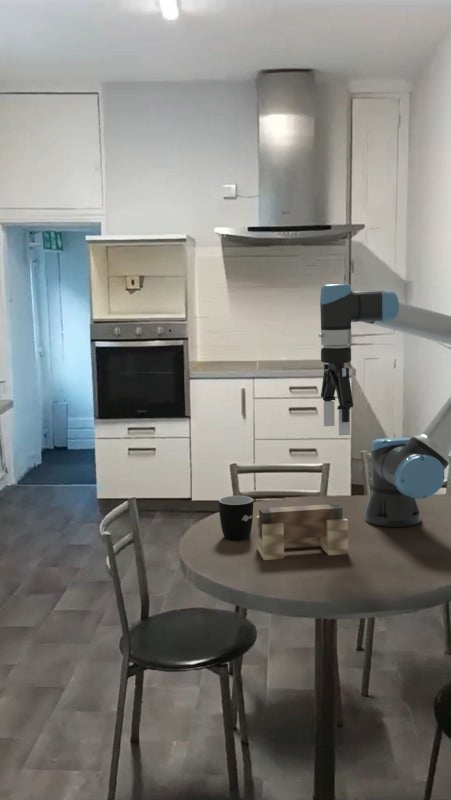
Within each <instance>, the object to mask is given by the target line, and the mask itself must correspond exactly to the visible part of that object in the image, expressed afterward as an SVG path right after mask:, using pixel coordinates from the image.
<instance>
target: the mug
mask: <svg viewBox="0 0 451 800" xmlns="http://www.w3.org/2000/svg"><path fill="white" fill-rule="evenodd" d="M218 508H219V509H218V510H219V519H220V526H221V532H222V535H223V537H224V539H226V540H228V541H233V542H239V541H240V542H241V541H245V540H247V539H249V537H250V535H251V533H252V529H253V528H252V526H253V519H254V499H253V498H252V497H251V496H245V495H228V496H224V497H221V498H220V499H218Z"/></svg>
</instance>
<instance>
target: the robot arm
mask: <svg viewBox="0 0 451 800" xmlns="http://www.w3.org/2000/svg"><path fill="white" fill-rule="evenodd" d="M320 288H321V289H320V299H319V306H320V311H319V312H320V333H319V334H318V337H319V338H320V345H321V346H322V347H321V348H320V361H321V362H322V363H323V375H322V376H323V377H322V384H321V391H320V392H321V393H320V398H322V400H323V427H335V424H336V423H335V421H336V420H335V416H336V415H335V401H336V397H335V394H336V396H337V401H338V403H339V405H337V408H336V409H337V410H338V436H340V437H341V436H350V435H351V408H353V407H354V401H353V394H352V387H351V382H350V381H351V380H350V369H349V367H345V363H346V364H347V363H350V362H351V361H352V348H351V347H350V346H351V345H352V323H358V322H359V323H360V322H362V323H366V324H370V325H374V326H378V327H381V328H386V329H389V330H394V331H397V332H400V333H405V334H408V335H412V336H416V337H420V338H423V339H426V340H431V341H434V342H439V343H442V344H447V345H451V315H448V314H445V313H442V312H441V313H440V312H437V311H433V310H430V309H426V308H423V307H418V306H414V305H412V304H407V303H404V302H400V301H399V298H398V295H397V294H396V292H394V291H393V290H373V291H370V290H367V291H361V290H360V291H358V290H357V291H356V290H352V286H351V285H350V284H349V283H343V284H324V285H323V286H321V287H320ZM370 449H371V450H370V459H371V461H370V463H371V465H370V467H371V468H370V471H371V472H370V474H371V477H370V478H371V482H370V483H371V492H370V495H369V498H368V502H367V505H366V507H365V509H364V519H365V521H366V522H367V523H369V524H372V525H374V526H375V525H376V526H380V527H385V528H386V527H387V528H388V527H389V528H406V527H413V526H415V525H417V524H419V523H421V511H420V508H419V505H418V501H417V500H418V499H419V500H420V499H427V498H430V497H433V495H435V494H437V492H439V491H440V489H441V488H442V486H443V484H444V483H445V478H446V477H445V470H446V469H447V468H448V466H449V464H450V463H451V462H450V457H449V455H450V453H451V396H449V398H448V399H447V400H446V401H445V403H444V405H442V407H441V408H440V410H439V411H438V412H437V413H436V415H435V416H434V418H433V419H432V420H431V421H430V423H428V425H427V427H426V428H425V429H424V431H423V432H422V433H421V434H418V435H412V436H411V437H389V438H388V437H386V438H377V439H374V440H373V441H372V442H371V448H370Z"/></svg>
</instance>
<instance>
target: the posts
mask: <svg viewBox="0 0 451 800" xmlns="http://www.w3.org/2000/svg"><path fill="white" fill-rule="evenodd" d="M255 518H256V549H257V551H258V553H259V554H260V556H261V558H262V559H263V561H271V560H282V559H285V549H286V550H287V549H297V548H298V549H300V548H312V547H313V548H315V547H320V548H321V549H322V550H323V551H324V552H325V553H326V554H327V556H338V555H349V520H348V519H347V518H342V519H334V520H327V537H313V538H299V539H284V524H283V523H273V524H262V539H261V537H260V526H259V515H256V517H255Z"/></svg>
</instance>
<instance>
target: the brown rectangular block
mask: <svg viewBox="0 0 451 800" xmlns="http://www.w3.org/2000/svg"><path fill="white" fill-rule="evenodd" d="M258 513H259V514H258V516H259V526H260V537H261V539H262V524H273V523H283V524H284V539H299V538H313V537H327V520H334V519H343V507H342V506H341V505H340V504H339V503H330V504H329V503H327V504H326V503H325V504H312V505H298V506H297V505H295V506H282V507H281V506H279V507H265V508H259V509H258Z"/></svg>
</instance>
